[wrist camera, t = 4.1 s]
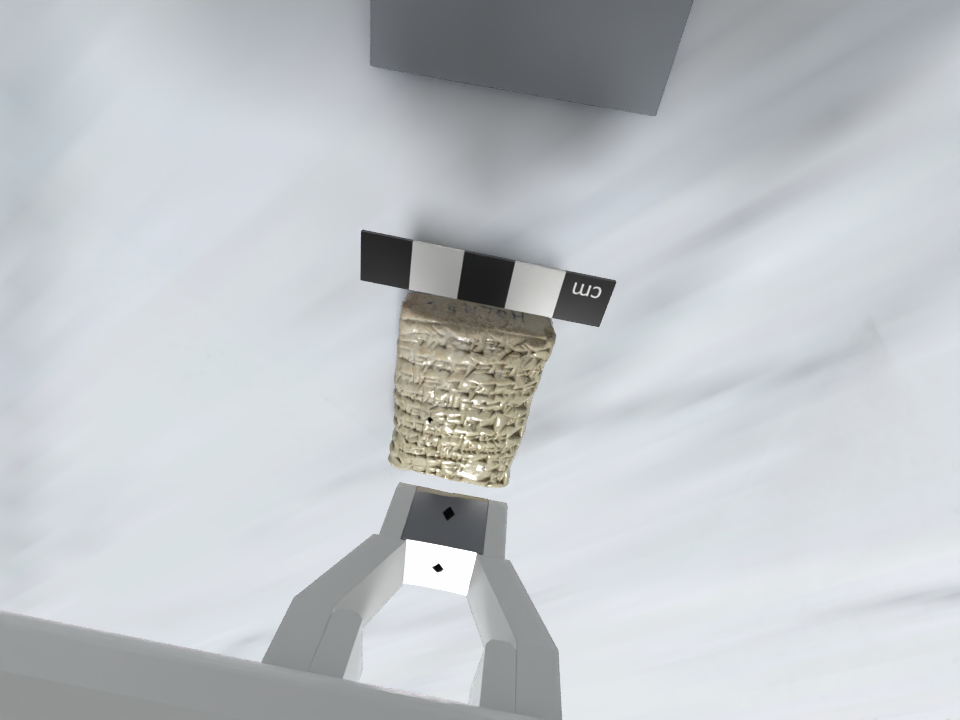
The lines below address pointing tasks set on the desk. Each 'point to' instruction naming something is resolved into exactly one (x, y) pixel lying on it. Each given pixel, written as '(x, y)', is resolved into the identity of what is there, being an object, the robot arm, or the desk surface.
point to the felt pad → (537, 46)
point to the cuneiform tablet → (471, 350)
